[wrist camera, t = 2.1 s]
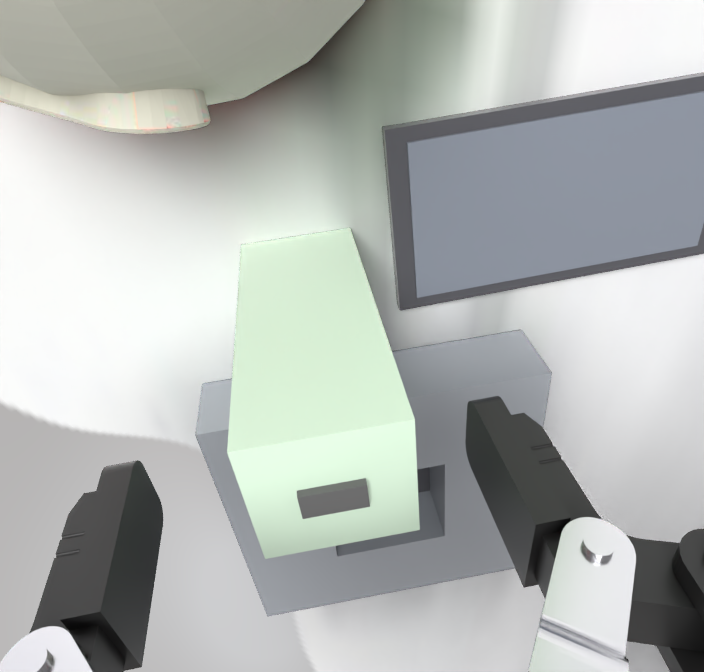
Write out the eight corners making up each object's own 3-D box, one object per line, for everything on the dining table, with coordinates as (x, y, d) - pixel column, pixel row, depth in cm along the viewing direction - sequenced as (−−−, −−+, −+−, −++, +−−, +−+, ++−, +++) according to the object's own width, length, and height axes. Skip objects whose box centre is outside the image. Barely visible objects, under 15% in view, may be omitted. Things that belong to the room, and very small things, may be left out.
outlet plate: (521, 329, 23) (551, 372, 21) (500, 520, 31) (521, 566, 29) (202, 383, 22) (195, 435, 20) (267, 564, 31) (267, 616, 28)
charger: (350, 227, 19) (417, 426, 11) (360, 317, 22) (421, 536, 13) (241, 244, 19) (226, 460, 11) (263, 334, 21) (265, 566, 13)
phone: (378, 122, 18) (385, 130, 17) (742, 61, 18) (767, 65, 18) (394, 297, 22) (400, 311, 21) (692, 242, 23) (710, 253, 22)
